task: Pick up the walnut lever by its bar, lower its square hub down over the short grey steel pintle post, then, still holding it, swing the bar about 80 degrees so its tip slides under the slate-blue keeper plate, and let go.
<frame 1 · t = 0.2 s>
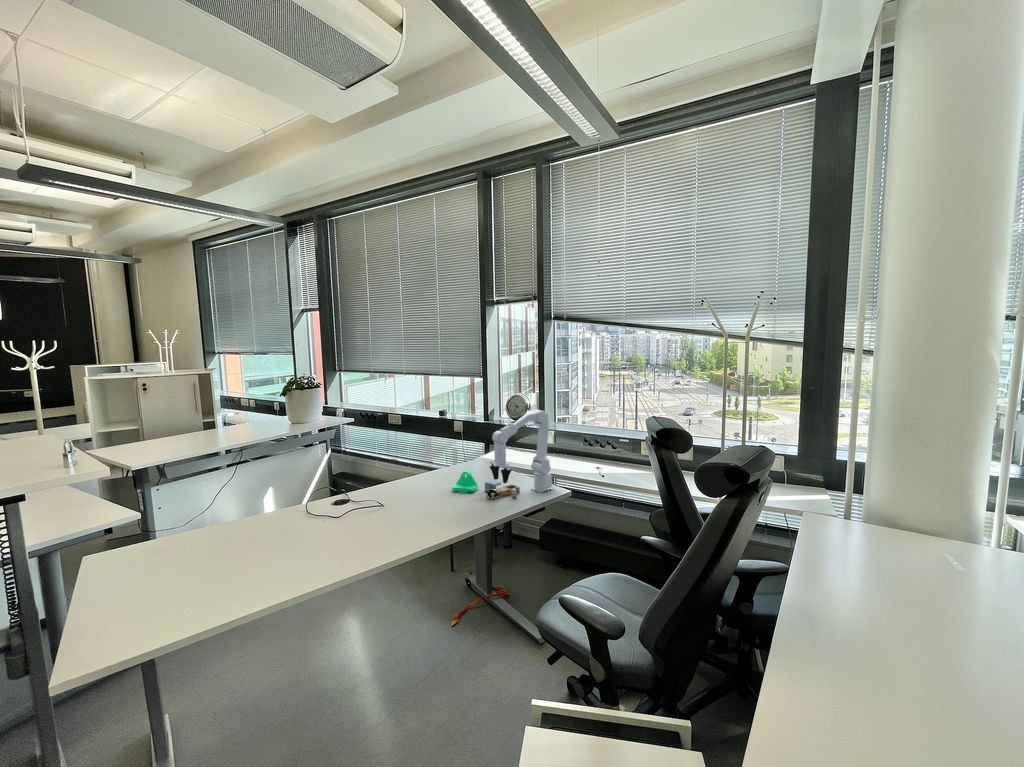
hand: (500, 481, 226), 10 cm above the table, fingers open, 7 cm apart
lever: (489, 498, 229), on the table
green triangular piece: (465, 490, 242), on the table
pintle: (514, 497, 230), on the table
keeper: (490, 490, 241), on the table
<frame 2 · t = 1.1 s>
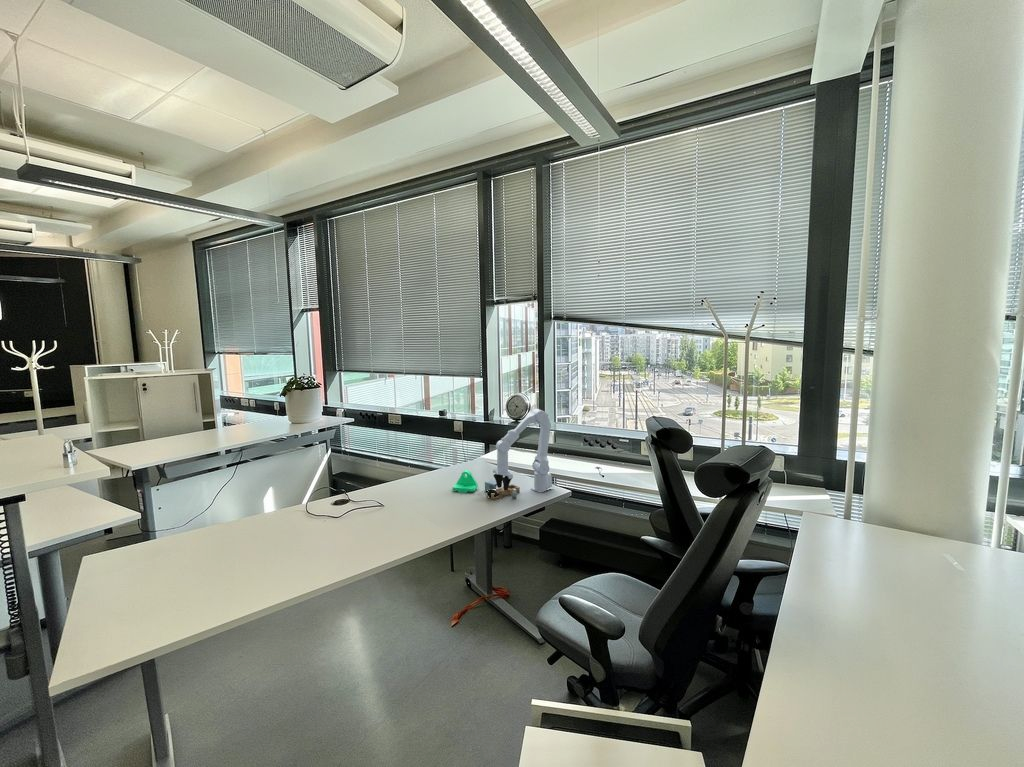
hand: (502, 488, 234), 3 cm above the table, fingers open, 5 cm apart
nothing on the table moved.
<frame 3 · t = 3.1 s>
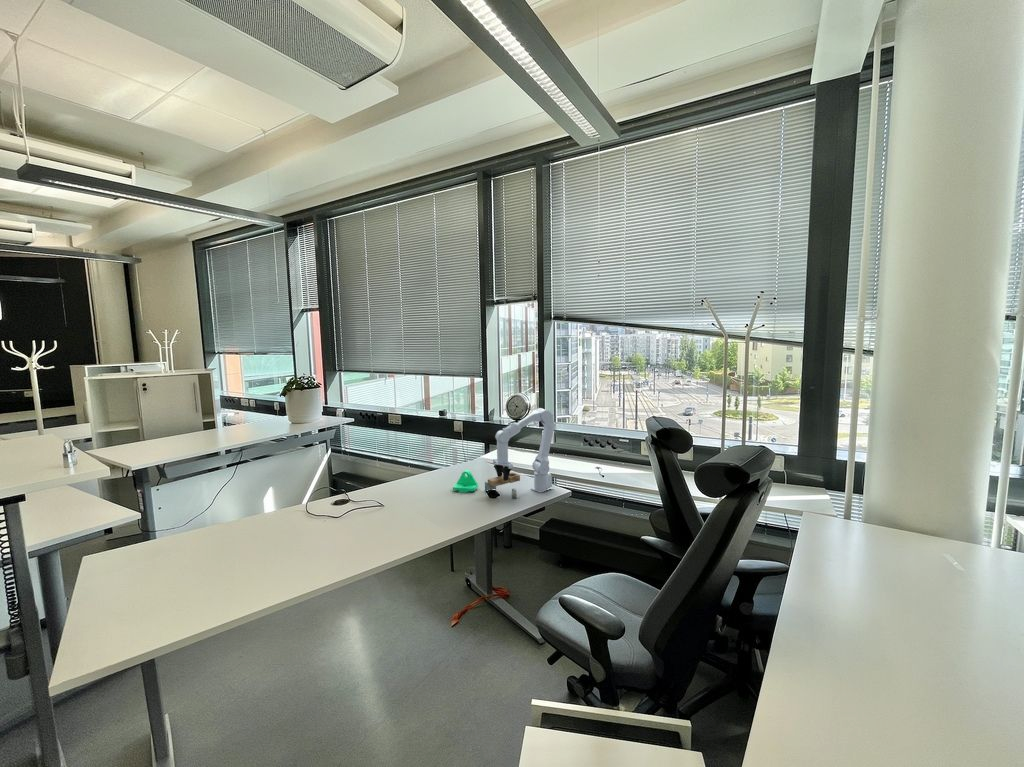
hand: (502, 479, 234), 8 cm above the table, fingers closed on lever, 4 cm apart
lever: (490, 486, 229), point 6 cm above the table, touching gripper
everything else where it was.
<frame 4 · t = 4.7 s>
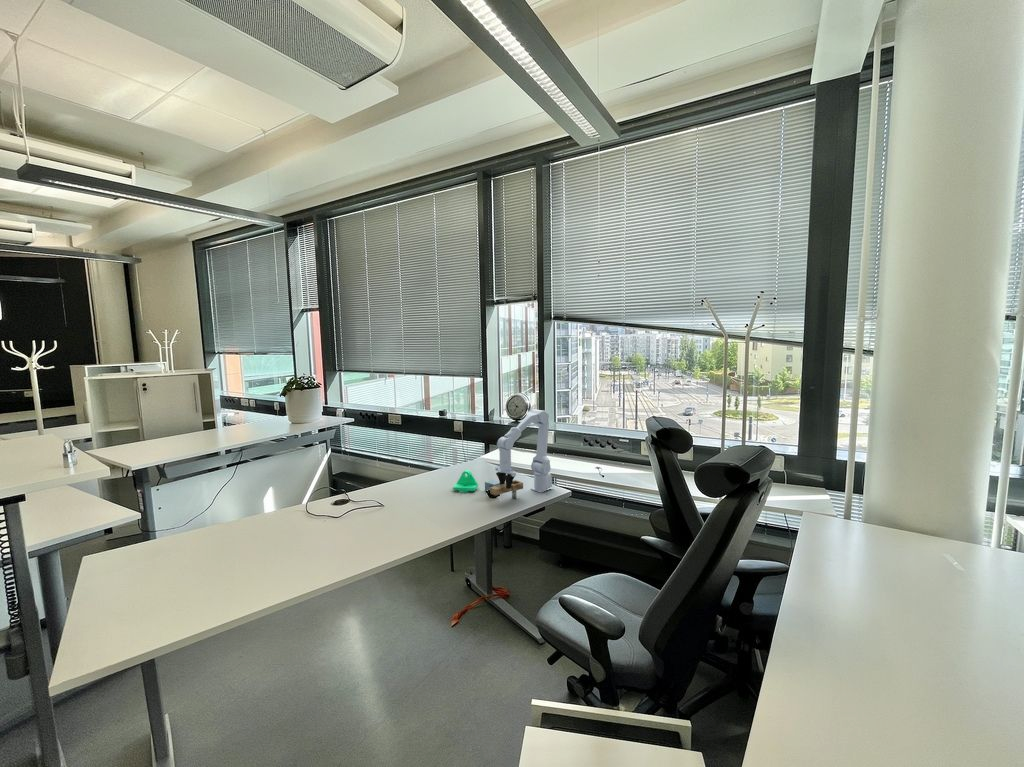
hand: (505, 487, 226), 7 cm above the table, fingers closed on lever, 4 cm apart
lever: (492, 494, 221), point 5 cm above the table, touching gripper
everything else where it was.
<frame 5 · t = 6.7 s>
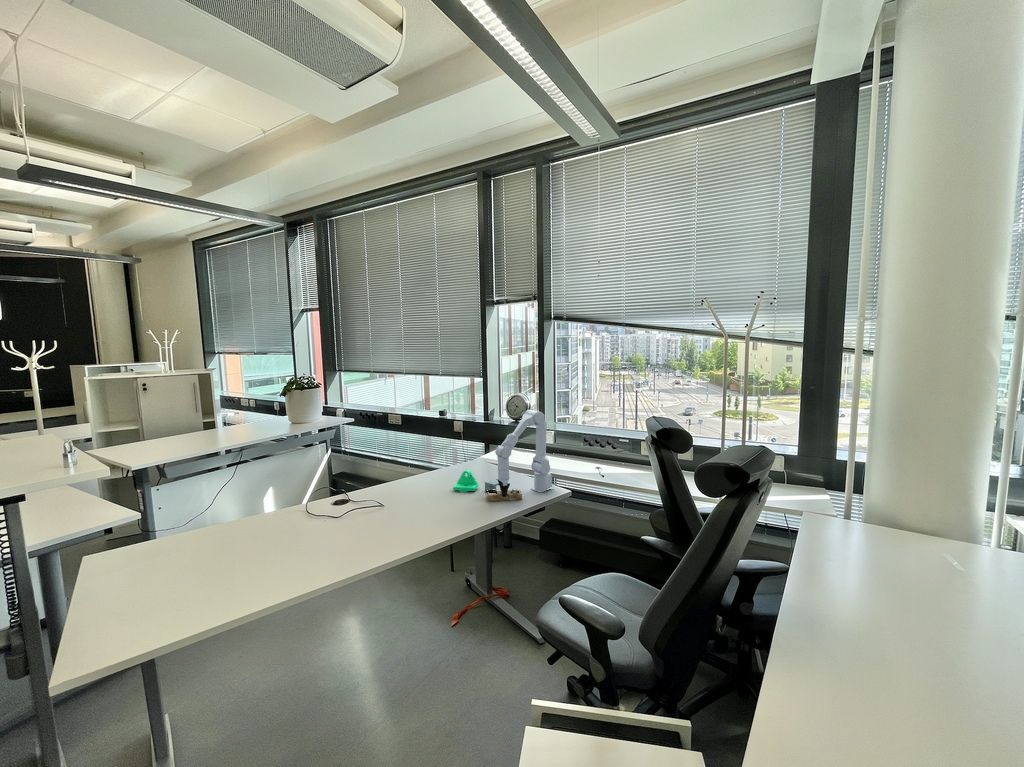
hand: (503, 494, 229), 2 cm above the table, fingers closed on lever, 4 cm apart
lever: (487, 499, 228), on the table, touching gripper
when the fingers open (2 cm above the table, at t = 8.2 s): lever stays where it is, on the table.
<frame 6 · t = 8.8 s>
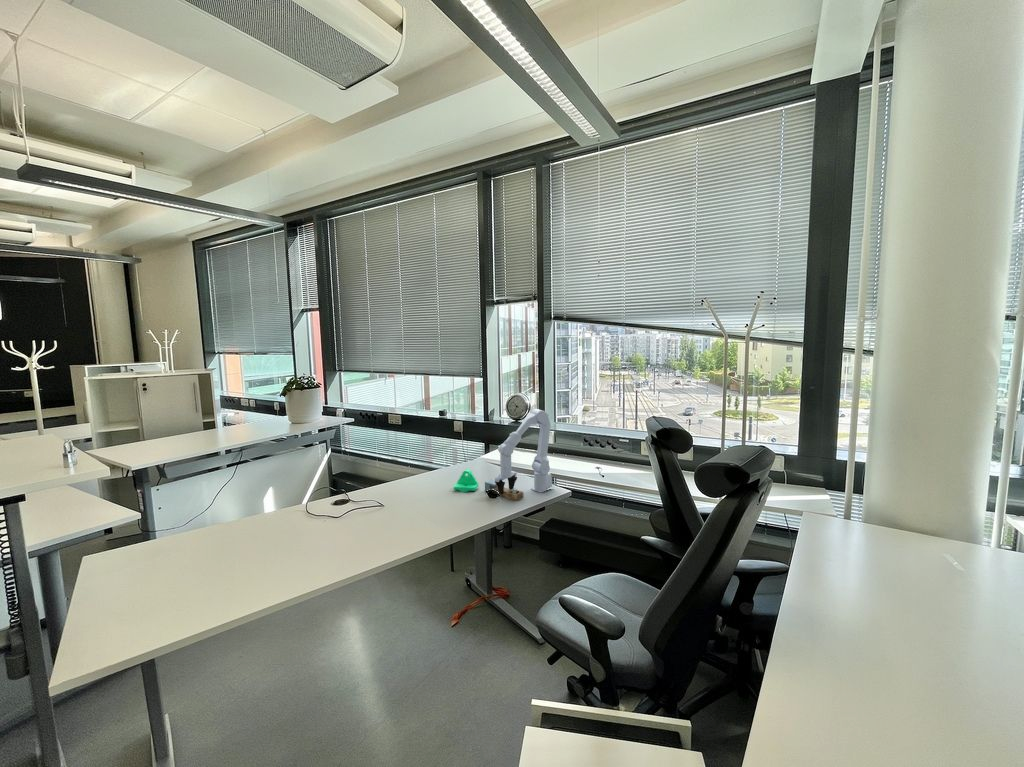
hand: (506, 492, 233), 2 cm above the table, fingers open, 7 cm apart
lever: (494, 492, 239), on the table
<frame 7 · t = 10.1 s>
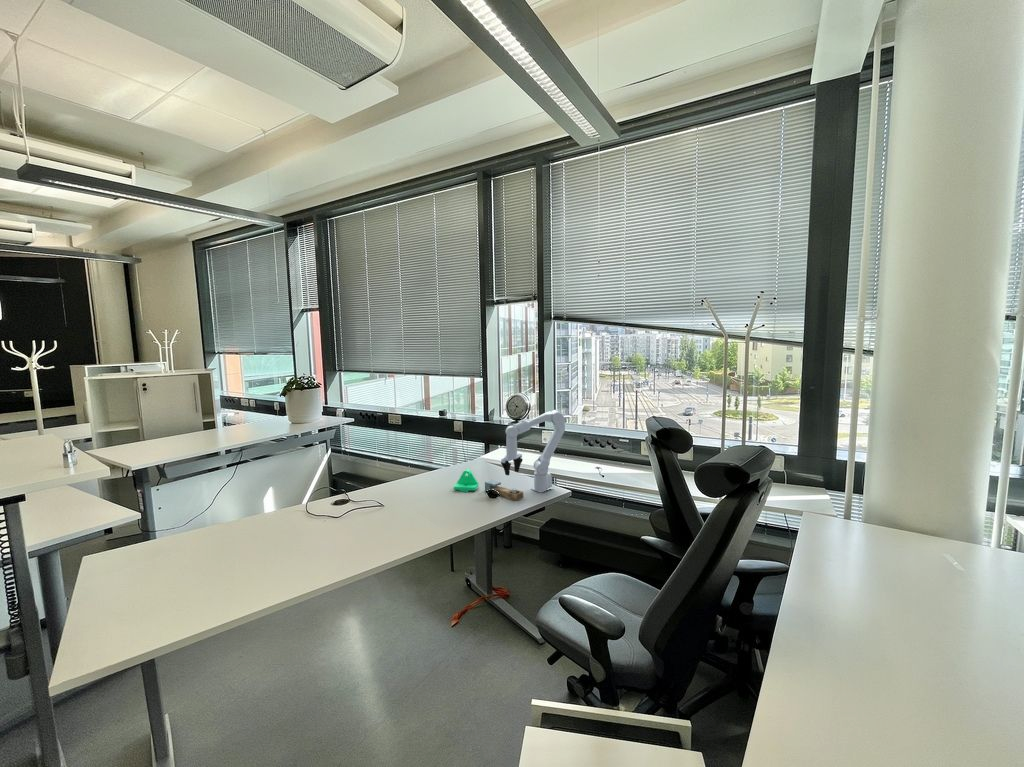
hand: (512, 473, 239), 10 cm above the table, fingers open, 7 cm apart
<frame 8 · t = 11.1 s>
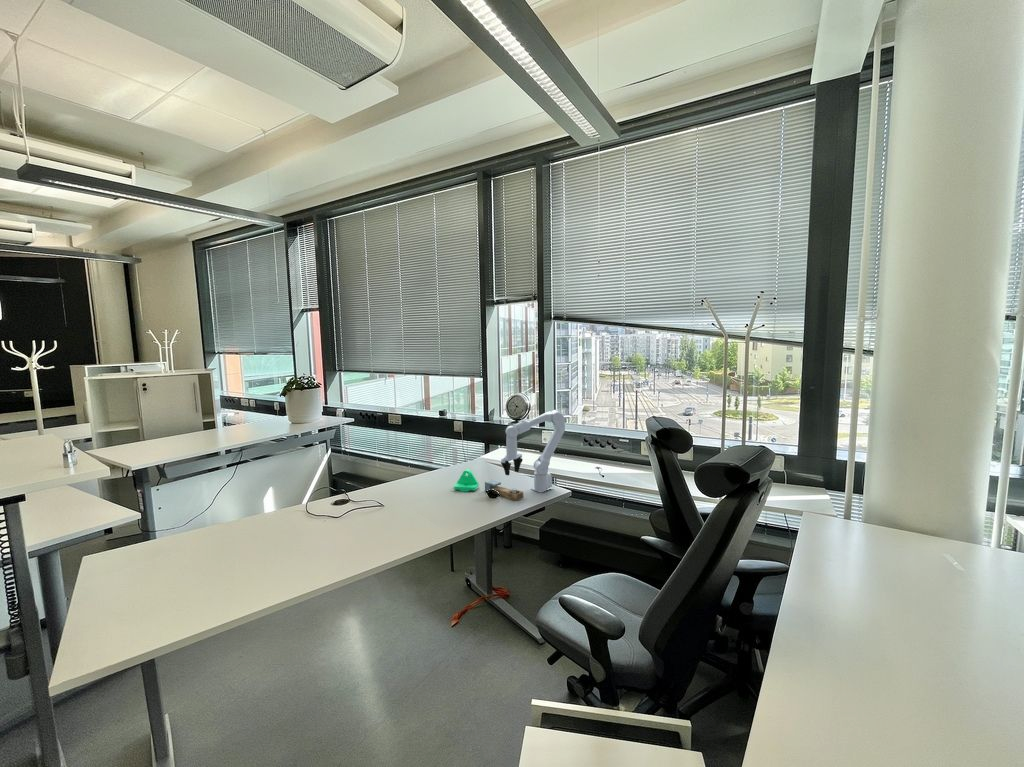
hand: (512, 473, 239), 10 cm above the table, fingers open, 7 cm apart
at the end: lever 0.5 cm from the target spot on the table beside the pintle, on the table; lever tilted 0°; lever 3.2 cm from the keeper (horizontally) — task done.
